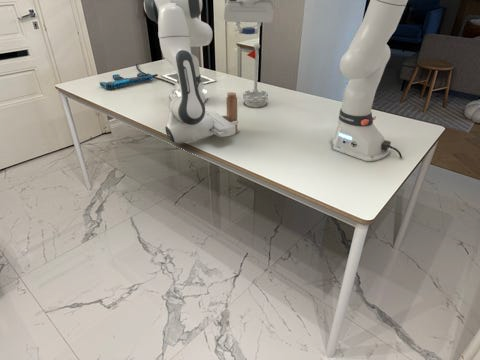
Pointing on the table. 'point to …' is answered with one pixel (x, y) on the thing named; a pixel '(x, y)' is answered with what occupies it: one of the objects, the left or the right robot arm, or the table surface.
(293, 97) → the table surface
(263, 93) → the flag stand
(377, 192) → the table surface
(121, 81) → the submachine gun
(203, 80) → the tablet
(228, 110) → the jar
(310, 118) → the table surface
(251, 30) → the lid
